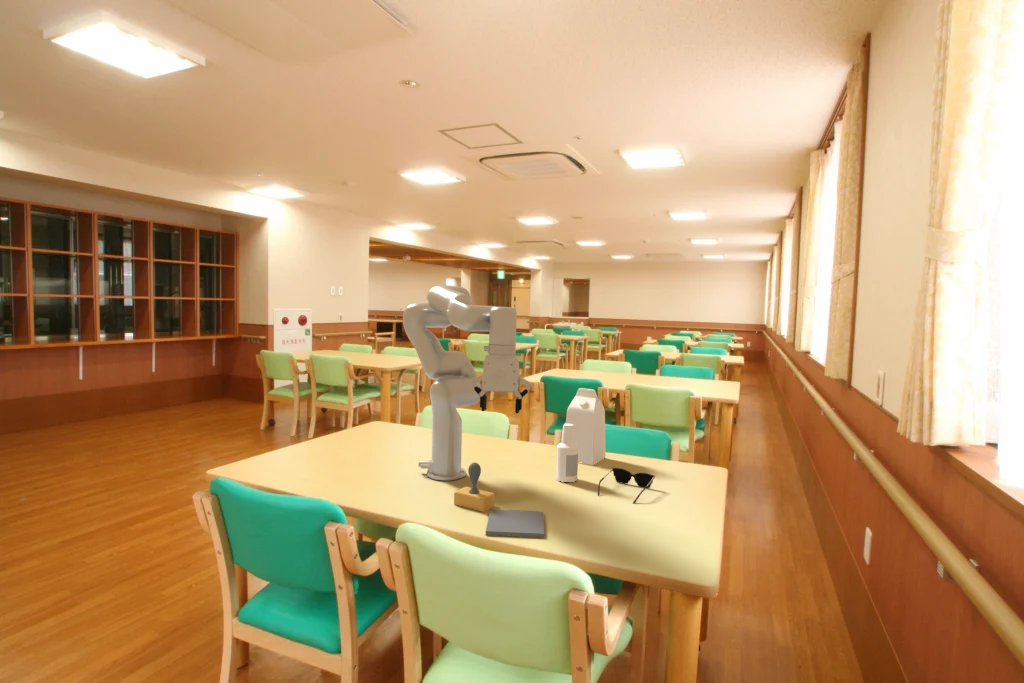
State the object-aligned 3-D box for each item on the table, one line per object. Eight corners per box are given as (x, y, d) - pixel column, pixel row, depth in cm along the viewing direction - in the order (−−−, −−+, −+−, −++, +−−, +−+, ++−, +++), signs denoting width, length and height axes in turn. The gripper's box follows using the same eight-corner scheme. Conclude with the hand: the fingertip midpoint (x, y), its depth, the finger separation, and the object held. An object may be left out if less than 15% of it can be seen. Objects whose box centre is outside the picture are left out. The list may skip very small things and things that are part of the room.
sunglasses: (654, 490, 162) (655, 474, 161) (638, 509, 148) (639, 492, 148) (612, 481, 169) (612, 466, 168) (593, 499, 155) (593, 483, 155)
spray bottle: (576, 484, 164) (578, 427, 163) (554, 482, 166) (556, 426, 165) (578, 477, 171) (579, 423, 170) (557, 475, 172) (558, 421, 171)
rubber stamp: (453, 504, 144) (454, 462, 144) (465, 498, 149) (466, 457, 149) (483, 512, 140) (484, 468, 139) (494, 506, 145) (495, 463, 144)
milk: (605, 458, 195) (608, 388, 193) (592, 465, 185) (595, 392, 183) (576, 452, 201) (578, 385, 199) (562, 459, 191) (564, 389, 190)
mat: (485, 535, 125) (485, 531, 125) (490, 512, 139) (490, 509, 139) (543, 537, 125) (544, 533, 125) (543, 514, 139) (543, 511, 139)
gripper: (468, 350, 144) (467, 412, 145) (530, 353, 141) (528, 415, 142) (475, 348, 152) (474, 407, 153) (534, 351, 149) (532, 410, 150)
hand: (500, 411), depth 147 cm, fingers open, 9 cm apart
